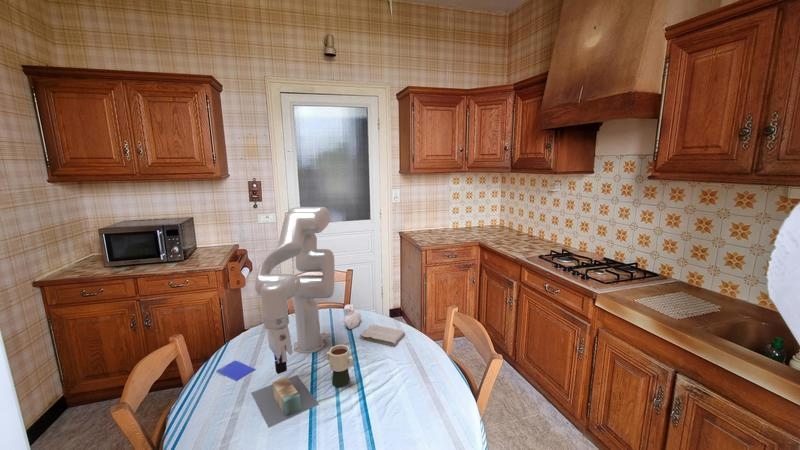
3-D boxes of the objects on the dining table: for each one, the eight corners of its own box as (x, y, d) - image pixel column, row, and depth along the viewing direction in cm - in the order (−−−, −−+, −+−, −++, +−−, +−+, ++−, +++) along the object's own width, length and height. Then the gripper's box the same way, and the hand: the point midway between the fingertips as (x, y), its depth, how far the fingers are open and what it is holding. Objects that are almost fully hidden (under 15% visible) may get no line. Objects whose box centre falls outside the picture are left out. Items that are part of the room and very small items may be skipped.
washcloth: (371, 328, 163) (371, 322, 163) (405, 335, 156) (405, 329, 155) (358, 340, 153) (358, 333, 152) (394, 348, 145) (394, 341, 145)
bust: (358, 323, 172) (345, 305, 173) (368, 317, 169) (355, 298, 170) (345, 334, 161) (331, 314, 162) (355, 328, 158) (342, 307, 159)
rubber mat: (296, 376, 127) (296, 374, 126) (319, 406, 111) (319, 404, 111) (251, 394, 117) (251, 392, 117) (268, 429, 101) (268, 427, 101)
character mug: (359, 381, 123) (358, 347, 121) (349, 393, 117) (347, 358, 114) (334, 374, 127) (332, 342, 125) (322, 385, 121) (320, 352, 119)
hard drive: (216, 370, 130) (236, 380, 123) (235, 359, 136) (256, 368, 130) (216, 374, 130) (236, 384, 124) (236, 363, 137) (256, 372, 131)
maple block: (286, 376, 117) (300, 395, 108) (288, 390, 118) (301, 409, 109) (272, 382, 114) (284, 402, 105) (273, 396, 115) (285, 416, 106)
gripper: (296, 325, 106) (300, 378, 110) (280, 309, 118) (285, 357, 122) (271, 333, 102) (277, 387, 105) (257, 315, 114) (263, 365, 117)
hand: (281, 371), depth 113 cm, fingers closed
